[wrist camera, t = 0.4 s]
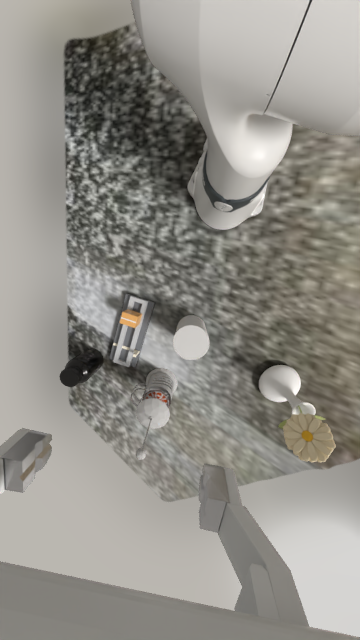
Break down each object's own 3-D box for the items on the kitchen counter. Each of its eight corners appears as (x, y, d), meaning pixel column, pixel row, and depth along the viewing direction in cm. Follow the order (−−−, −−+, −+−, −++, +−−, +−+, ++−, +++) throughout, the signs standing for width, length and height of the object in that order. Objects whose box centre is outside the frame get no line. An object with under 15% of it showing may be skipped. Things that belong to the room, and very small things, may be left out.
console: (127, 293, 53) (121, 294, 48) (155, 302, 53) (151, 304, 48) (111, 356, 57) (104, 363, 53) (136, 365, 57) (131, 372, 53)
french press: (170, 401, 59) (155, 487, 35) (135, 387, 59) (96, 464, 35) (182, 375, 57) (175, 447, 33) (147, 360, 57) (113, 422, 32)
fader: (129, 308, 52) (122, 311, 46) (143, 313, 52) (137, 317, 46) (126, 318, 52) (119, 323, 47) (140, 323, 53) (134, 328, 47)
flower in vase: (295, 359, 54) (381, 426, 30) (297, 395, 56) (379, 484, 32) (249, 365, 55) (294, 434, 31) (253, 400, 57) (298, 489, 33)
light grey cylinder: (173, 337, 55) (168, 353, 43) (182, 311, 53) (179, 320, 41) (199, 346, 55) (201, 364, 43) (209, 320, 53) (214, 332, 41)
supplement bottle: (104, 370, 58) (82, 392, 47) (82, 367, 59) (55, 389, 47) (104, 349, 57) (82, 367, 45) (82, 346, 57) (54, 364, 45)
